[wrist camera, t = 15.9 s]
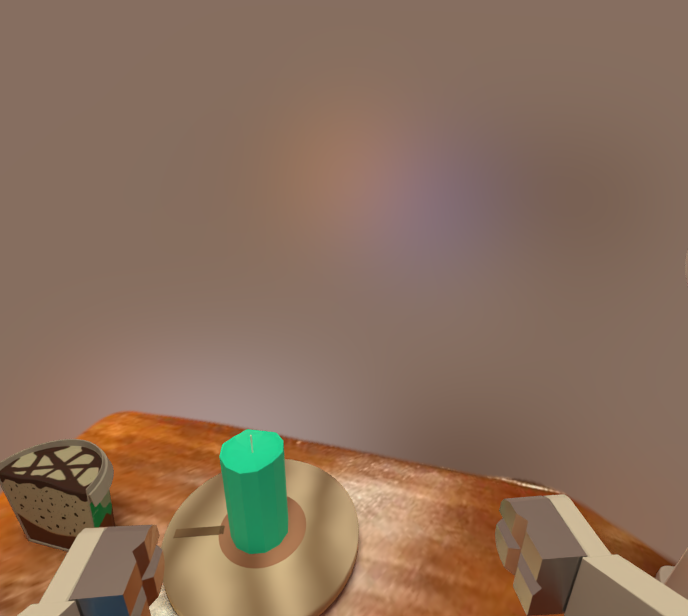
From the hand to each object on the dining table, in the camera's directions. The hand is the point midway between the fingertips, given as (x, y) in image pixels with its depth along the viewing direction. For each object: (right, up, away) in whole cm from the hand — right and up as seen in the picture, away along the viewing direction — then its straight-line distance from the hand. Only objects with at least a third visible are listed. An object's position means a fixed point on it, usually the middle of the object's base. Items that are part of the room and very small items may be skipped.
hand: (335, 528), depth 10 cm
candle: (-9, -18, +34) cm, 39 cm away
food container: (-29, -19, +37) cm, 51 cm away
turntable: (-8, -19, +34) cm, 40 cm away
